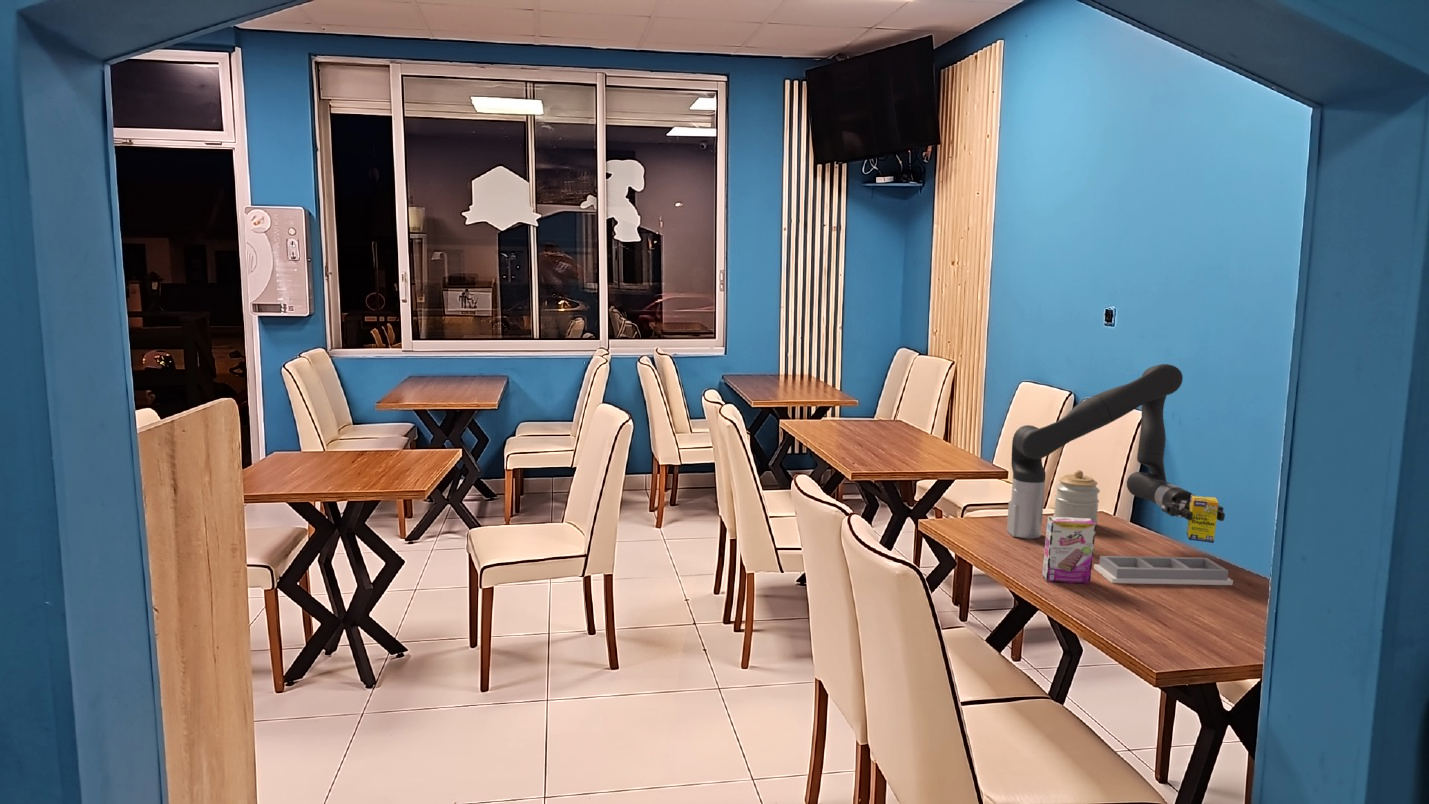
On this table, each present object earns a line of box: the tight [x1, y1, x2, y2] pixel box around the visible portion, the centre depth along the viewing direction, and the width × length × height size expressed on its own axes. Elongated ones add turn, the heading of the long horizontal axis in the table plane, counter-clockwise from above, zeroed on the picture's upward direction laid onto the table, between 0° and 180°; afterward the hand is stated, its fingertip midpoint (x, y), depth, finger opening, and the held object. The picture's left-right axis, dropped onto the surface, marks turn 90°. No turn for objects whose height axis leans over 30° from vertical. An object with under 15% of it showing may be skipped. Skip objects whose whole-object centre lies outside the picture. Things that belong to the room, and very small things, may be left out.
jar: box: [1053, 469, 1101, 525], centre depth 282 cm, size 13×13×18 cm
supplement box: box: [1186, 494, 1219, 544], centre depth 234 cm, size 6×6×11 cm
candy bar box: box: [1041, 515, 1097, 584], centre depth 231 cm, size 11×5×16 cm, turn 84°
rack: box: [1093, 555, 1234, 586], centre depth 236 cm, size 31×11×4 cm, turn 90°
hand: (1207, 517), depth 232 cm, fingers closed on supplement box, 7 cm apart
